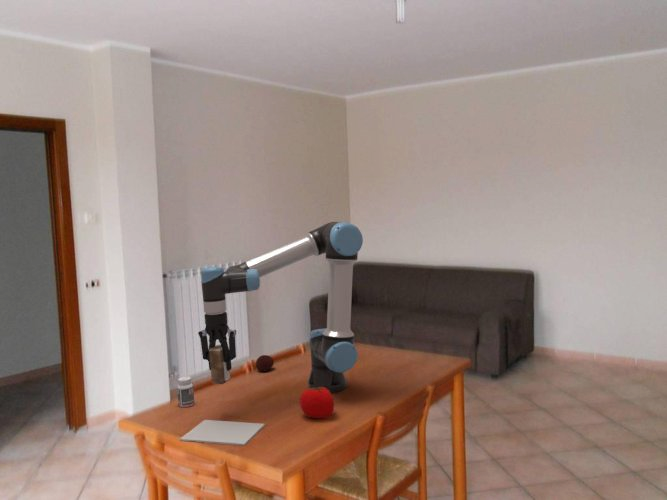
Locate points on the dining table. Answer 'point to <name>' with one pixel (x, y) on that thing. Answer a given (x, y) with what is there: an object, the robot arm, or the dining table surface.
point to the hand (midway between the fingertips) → (221, 379)
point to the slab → (217, 365)
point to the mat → (223, 432)
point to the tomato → (317, 402)
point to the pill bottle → (185, 392)
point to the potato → (264, 363)
